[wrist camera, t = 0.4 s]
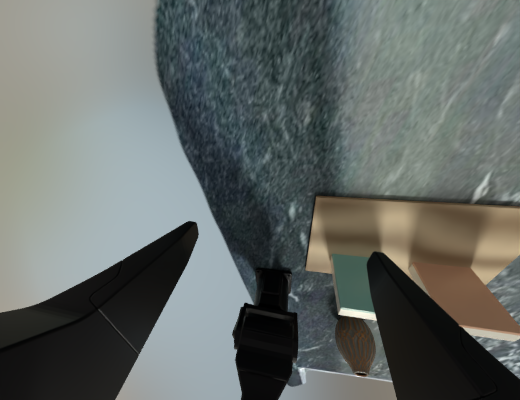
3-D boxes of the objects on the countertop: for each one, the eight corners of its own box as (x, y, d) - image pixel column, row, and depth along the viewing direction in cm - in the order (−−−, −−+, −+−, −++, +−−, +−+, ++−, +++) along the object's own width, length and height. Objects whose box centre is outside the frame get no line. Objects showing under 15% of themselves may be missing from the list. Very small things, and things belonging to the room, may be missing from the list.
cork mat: (476, 288, 28) (478, 290, 28) (305, 268, 33) (305, 270, 32) (563, 208, 20) (567, 211, 20) (316, 195, 24) (316, 197, 24)
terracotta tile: (463, 275, 27) (514, 341, 20) (408, 269, 28) (439, 330, 22) (470, 267, 26) (526, 334, 19) (413, 261, 27) (447, 323, 21)
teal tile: (378, 266, 29) (400, 324, 22) (330, 261, 30) (338, 314, 24) (382, 258, 28) (407, 317, 21) (332, 253, 29) (341, 307, 23)
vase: (365, 310, 37) (381, 368, 30) (371, 327, 40) (386, 383, 33) (329, 312, 39) (335, 365, 32) (337, 327, 43) (344, 379, 36)
